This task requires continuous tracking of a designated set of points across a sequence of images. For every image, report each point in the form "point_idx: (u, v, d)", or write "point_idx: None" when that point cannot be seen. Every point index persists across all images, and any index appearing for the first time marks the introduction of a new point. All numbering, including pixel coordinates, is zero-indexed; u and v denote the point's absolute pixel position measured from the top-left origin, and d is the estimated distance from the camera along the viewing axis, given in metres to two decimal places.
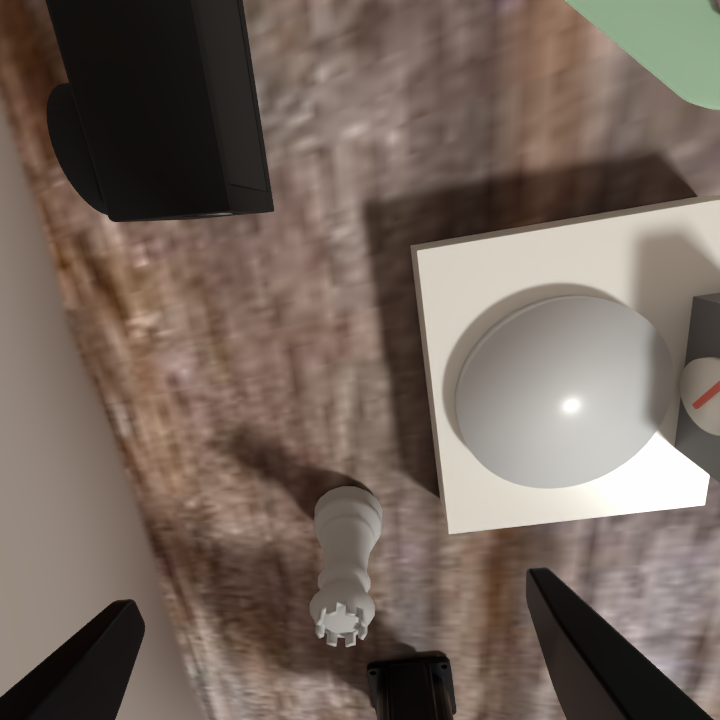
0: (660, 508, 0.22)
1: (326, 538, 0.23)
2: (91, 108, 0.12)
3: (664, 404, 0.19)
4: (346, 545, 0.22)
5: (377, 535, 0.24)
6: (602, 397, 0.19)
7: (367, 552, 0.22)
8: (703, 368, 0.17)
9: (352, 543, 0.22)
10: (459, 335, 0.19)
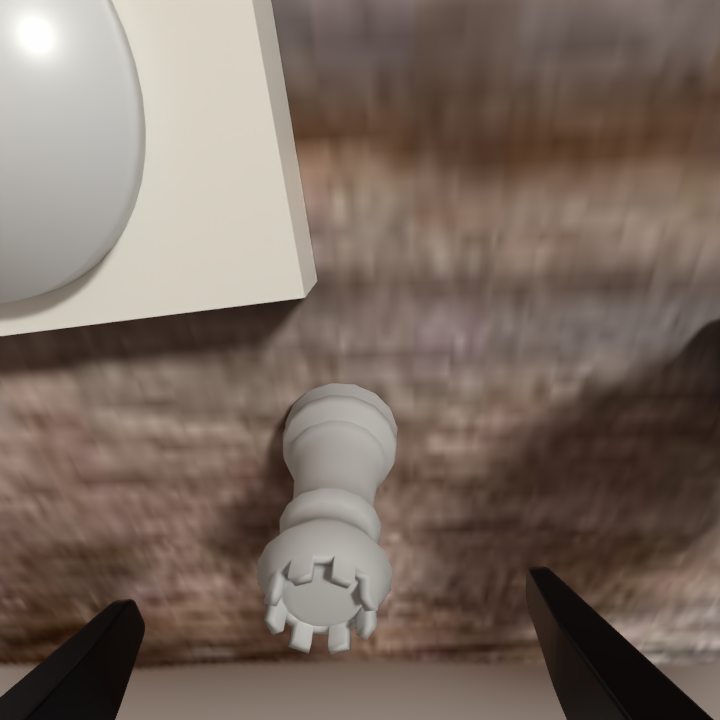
0: None
1: None
2: None
3: None
4: None
5: (346, 410, 0.14)
6: None
7: (324, 455, 0.12)
8: None
9: (295, 481, 0.12)
10: None
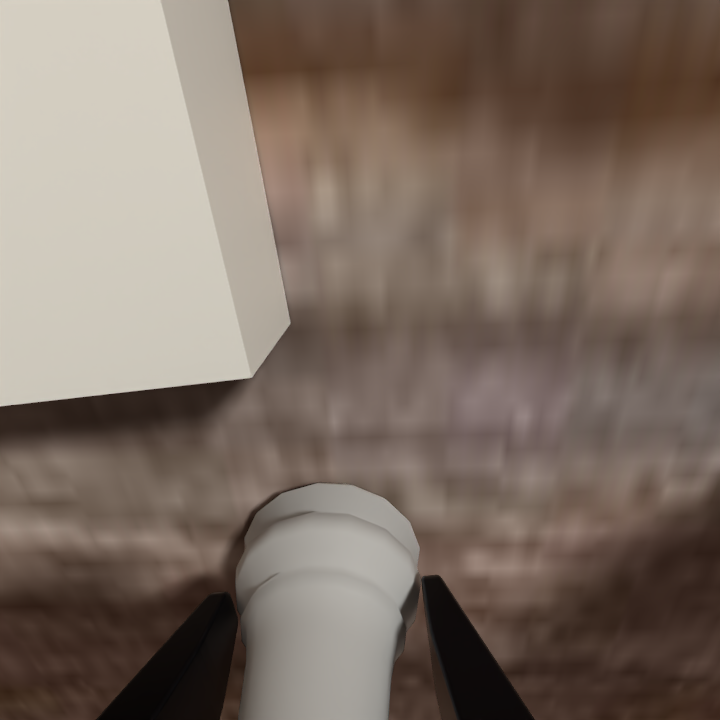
0: None
1: None
2: None
3: None
4: None
5: (338, 545, 0.08)
6: None
7: (293, 662, 0.06)
8: None
9: (241, 707, 0.07)
10: None
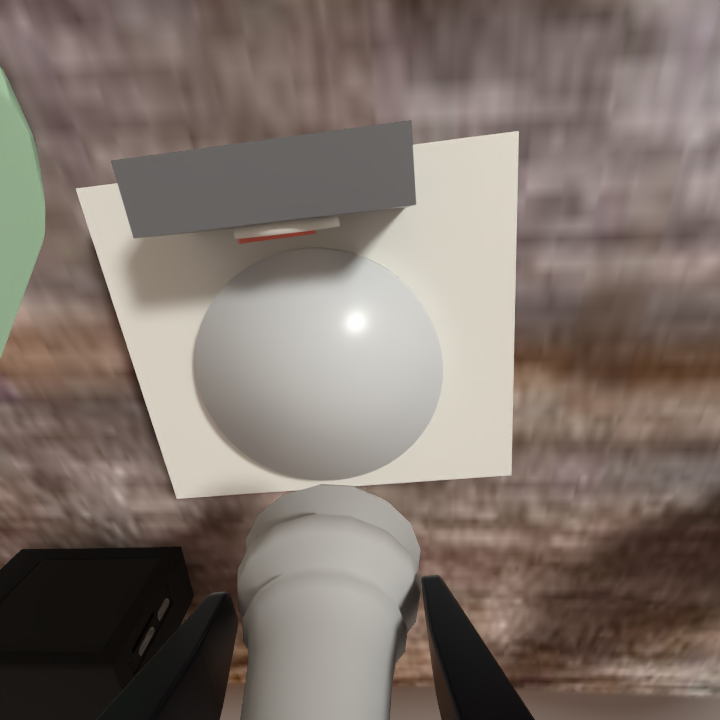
0: (513, 204, 0.14)
1: None
2: (66, 717, 0.19)
3: (323, 256, 0.14)
4: None
5: (340, 547, 0.08)
6: (312, 334, 0.15)
7: (295, 664, 0.07)
8: None
9: (244, 708, 0.07)
10: (253, 465, 0.18)
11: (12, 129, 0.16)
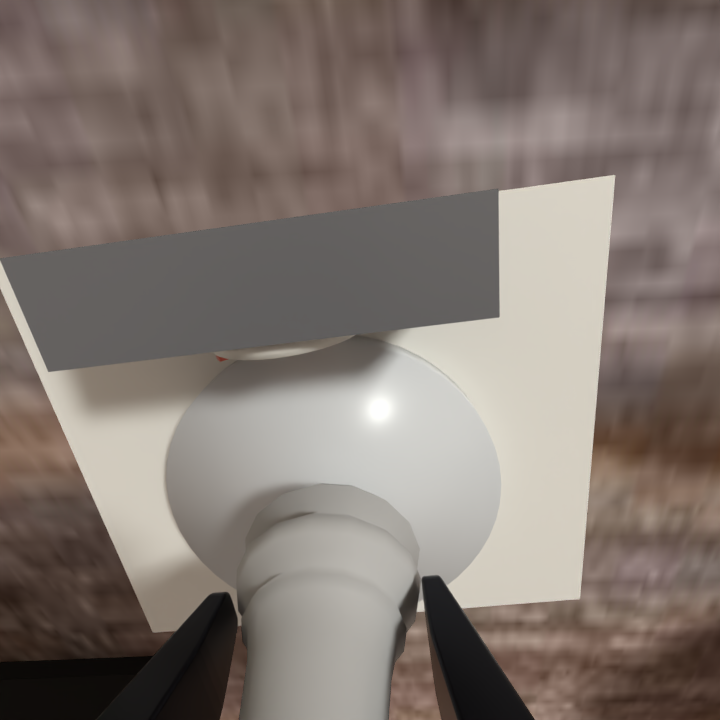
0: (602, 273, 0.10)
1: None
2: None
3: (338, 351, 0.10)
4: None
5: (339, 546, 0.08)
6: (324, 449, 0.11)
7: (294, 663, 0.07)
8: None
9: (242, 708, 0.07)
10: None
11: None
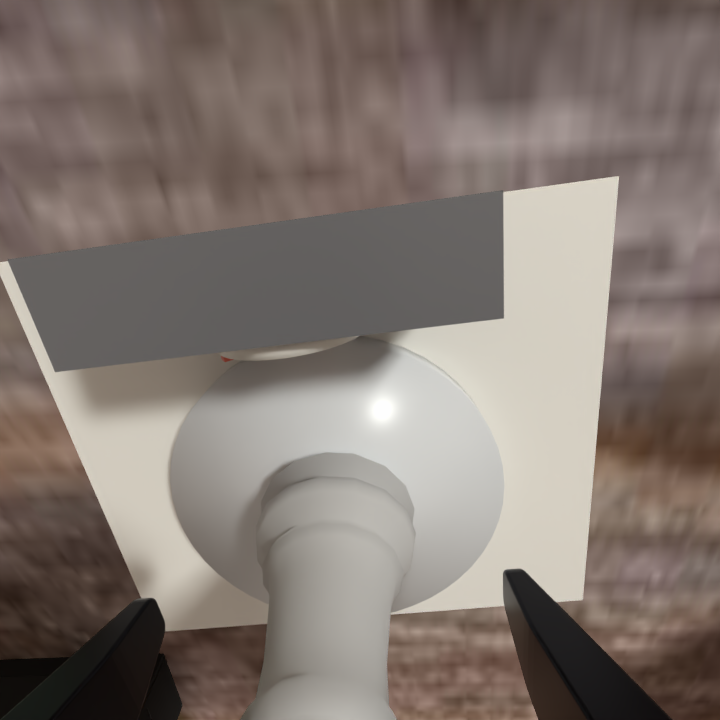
0: (605, 274, 0.10)
1: None
2: None
3: (342, 352, 0.10)
4: None
5: (345, 502, 0.09)
6: (328, 449, 0.11)
7: (311, 592, 0.08)
8: None
9: (268, 629, 0.08)
10: None
11: None
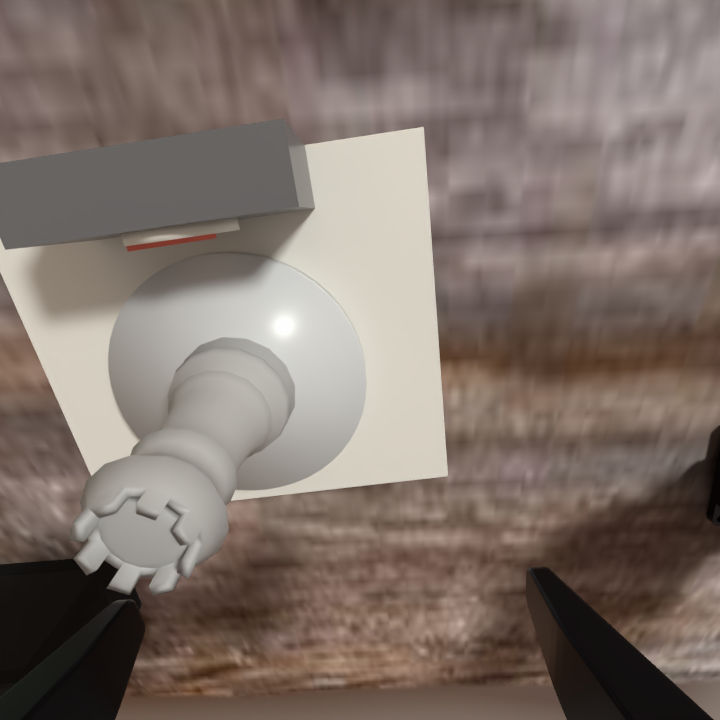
0: (425, 202, 0.14)
1: None
2: None
3: (231, 261, 0.14)
4: None
5: (228, 361, 0.13)
6: None
7: (190, 402, 0.12)
8: None
9: None
10: None
11: None
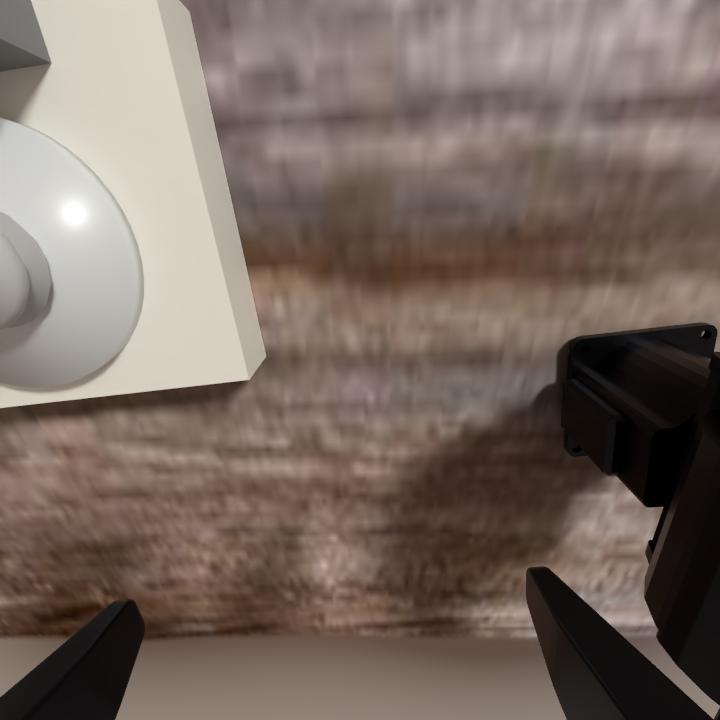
0: (166, 56, 0.13)
1: None
2: None
3: None
4: None
5: None
6: None
7: None
8: None
9: None
10: None
11: None
